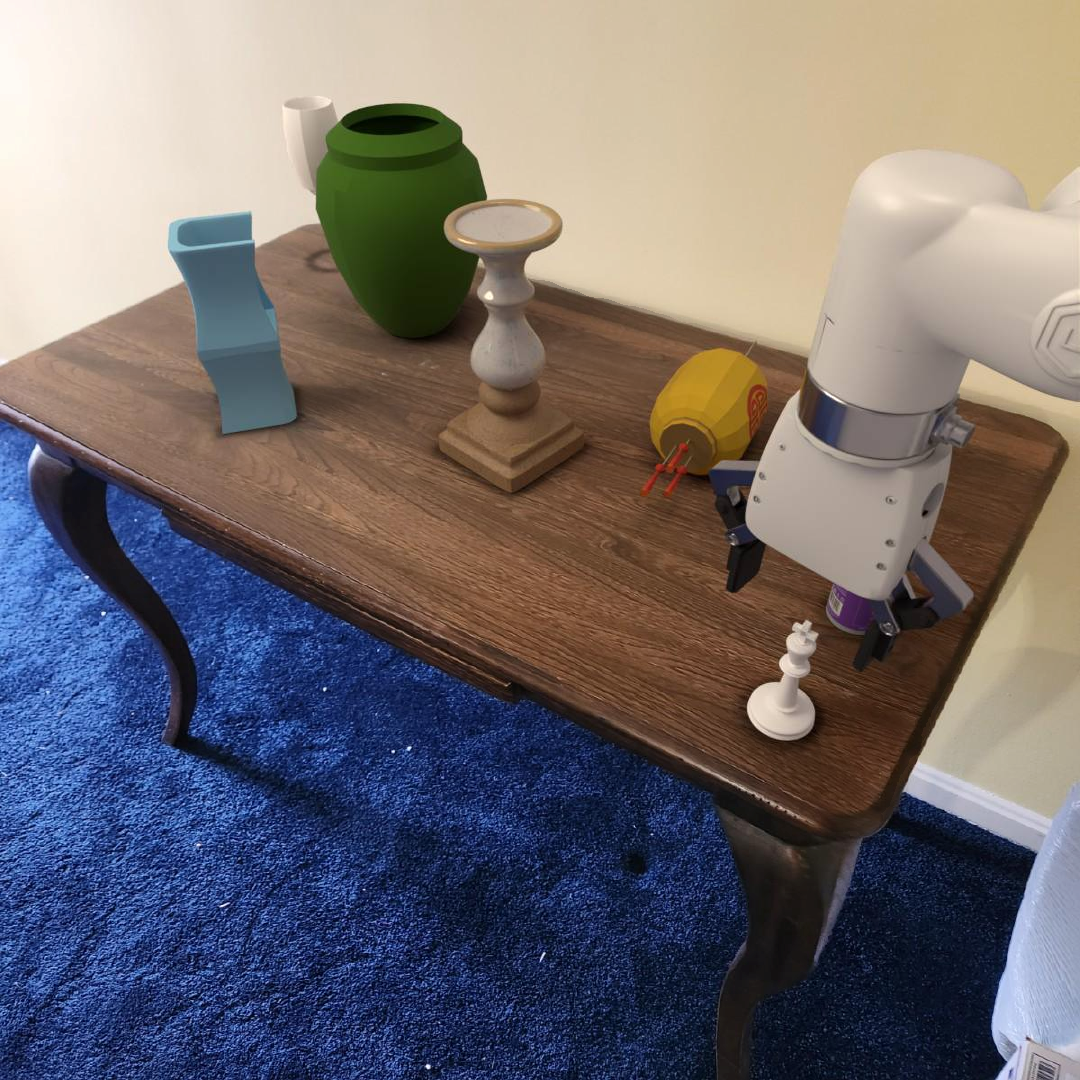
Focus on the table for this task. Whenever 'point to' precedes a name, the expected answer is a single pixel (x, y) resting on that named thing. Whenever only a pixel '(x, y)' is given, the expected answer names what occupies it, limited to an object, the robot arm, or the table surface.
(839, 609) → the container
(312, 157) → the cup
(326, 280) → the table surface
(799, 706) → the chess piece
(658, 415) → the lantern
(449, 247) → the vase
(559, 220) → the candle holder
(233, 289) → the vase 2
